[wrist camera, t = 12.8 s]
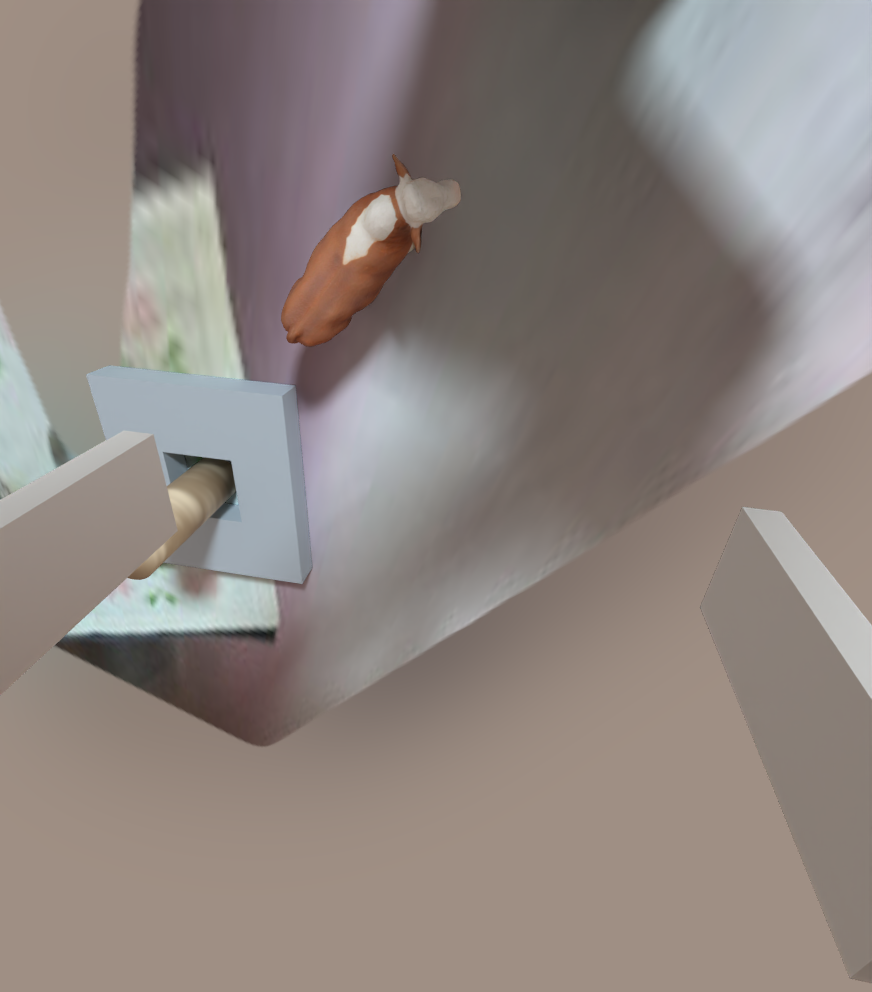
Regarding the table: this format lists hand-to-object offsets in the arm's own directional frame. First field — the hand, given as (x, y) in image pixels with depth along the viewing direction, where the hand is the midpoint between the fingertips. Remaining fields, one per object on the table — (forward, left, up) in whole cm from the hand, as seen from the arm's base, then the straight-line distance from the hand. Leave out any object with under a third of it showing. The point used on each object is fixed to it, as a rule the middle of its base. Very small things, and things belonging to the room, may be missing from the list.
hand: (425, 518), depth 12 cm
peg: (+16, -23, -27) cm, 39 cm away
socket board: (+16, -23, -27) cm, 39 cm away
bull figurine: (-3, -8, -27) cm, 28 cm away
